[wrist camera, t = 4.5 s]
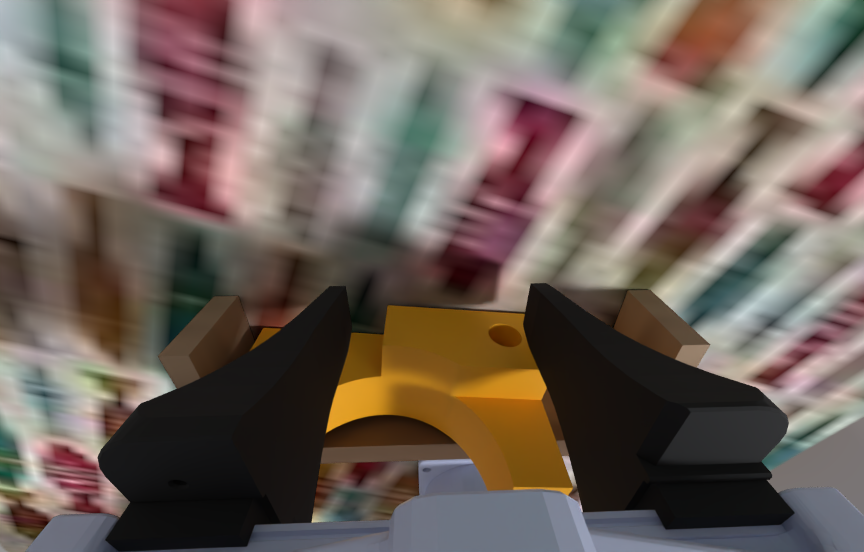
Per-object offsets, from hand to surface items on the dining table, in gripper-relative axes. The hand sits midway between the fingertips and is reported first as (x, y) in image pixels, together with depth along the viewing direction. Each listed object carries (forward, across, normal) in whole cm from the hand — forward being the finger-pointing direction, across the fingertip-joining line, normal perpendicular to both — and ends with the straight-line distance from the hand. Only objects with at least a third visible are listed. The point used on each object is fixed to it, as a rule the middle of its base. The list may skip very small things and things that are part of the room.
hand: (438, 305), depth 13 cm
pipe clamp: (+2, +2, +3) cm, 4 cm away
